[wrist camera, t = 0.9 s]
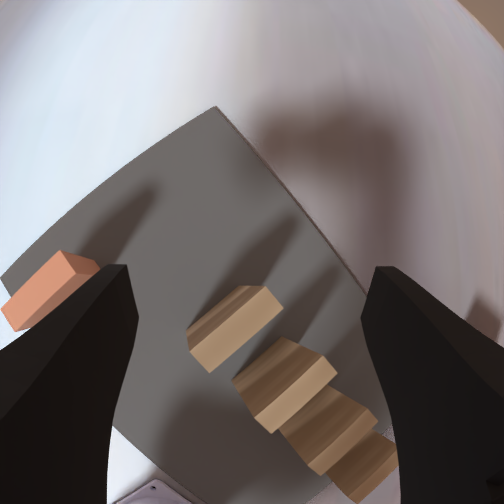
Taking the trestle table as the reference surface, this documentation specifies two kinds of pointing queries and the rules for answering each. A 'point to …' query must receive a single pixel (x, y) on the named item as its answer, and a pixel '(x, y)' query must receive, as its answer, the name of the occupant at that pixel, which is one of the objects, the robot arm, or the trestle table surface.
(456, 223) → the trestle table surface
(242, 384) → the domino
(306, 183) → the trestle table surface
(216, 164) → the mat
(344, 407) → the domino
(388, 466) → the domino
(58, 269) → the domino
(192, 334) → the domino
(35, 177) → the trestle table surface
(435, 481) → the robot arm
